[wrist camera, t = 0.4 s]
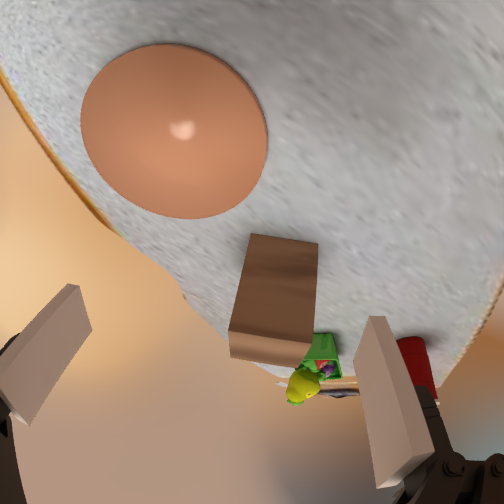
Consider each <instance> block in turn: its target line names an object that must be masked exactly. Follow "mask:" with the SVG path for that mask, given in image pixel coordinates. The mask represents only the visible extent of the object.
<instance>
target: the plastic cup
mask: <svg viewBox="0 0 504 504" xmlns="http://www.w3.org/2000/svg"><path fill="white" fill-rule="evenodd" d="M396 343H397V345H398V348H399V350H400V353H401V355H402V358H403V360H404V363H405V365H406V368H407V370H408V373H409V375H410V378H411V381H412V383H413V386H420V385H425V386H426V387H427V389H428V390H429V391H430V392H431V393H432V394H433V397H434V399H435V402H436V404H437V405H438V404H440V402H439V400H438V398H437V395H436V390H435V385H434V381H433V376H432V371H431V366H430V362H429V357H428V355H427V351H426V347H425V343H424V341H423V339H422V338H420V337H407V338H403V339H400V340H398V341H396Z"/></svg>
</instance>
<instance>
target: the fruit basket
mask: <svg viewBox="0 0 504 504" xmlns="http://www.w3.org/2000/svg"><path fill="white" fill-rule="evenodd" d="M295 370H296V371H294V372H293V374H292V375H291V377H290V379H289V384H288V388H287V390H286V395H287V397H288V400H287V402H289V403H291V404H293V405H300V404H302V403H303V402H304V400H305V399H307V398H309V397H311V396H313V395H315V394H317V393H318V392H319V391H320V388H321V387H320V384H319V381H325V380H326V379H341V378H342V372H341V368H340V364H339V359H338V354H337V350H336V346H335V343H334V340H333V336H332V334H331V333H327V334H313V340H312V345H311V347H310V348H309V350H308V352H307V354H306V355H305V357H304V359H303V360H302V362H301V364H300V365H299V367H298V368H295Z"/></svg>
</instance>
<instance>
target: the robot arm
mask: <svg viewBox="0 0 504 504" xmlns="http://www.w3.org/2000/svg"><path fill="white" fill-rule="evenodd" d="M91 332H92V328H91V325H90V321H89V318H88V315H87V312H86V308H85V305H84V301H83V298H82V294H81V291H80V287H79V286H78V285H72V284H67V285H66V286H65V287H64V288H63V289H62V290H61V291H60V292H59V293H58V294H57V295H56V296H55V297H54V298H53V299H52V300H51V301H50V302H49V303H48V304H47V305H46V306H45V307H44V308H43V309H42V310H41V311H40V312H39V313H38V314H37V316H36V317H35V318H34V319H33V320H32V321H31V322H30V323H29V324H28V325H27V326H26V327H25V329H24V330H23V331H22V332H21V333H18V334H17V335H15V336H14V337H12V338H11V339H10V340H9V341H8V342H7V343H6V344H5V345H4V348H2V349H1V350H0V504H27V502H26V498H25V495H24V491H23V487H22V483H21V478H20V474H19V469H18V464H17V458H16V453H15V446H14V439H13V432H12V422H11V419H10V416H9V413H10V412H12V413H13V415H14V416H15V417H16V418H17V419H18V420H19V421H21V422H23V423H24V424H26V425H28V426H30V424H31V422H32V421H33V419H34V417H35V416H36V414H37V412H38V411H39V409H40V407H41V406H42V404H43V403H44V401H45V399H46V398H47V396H48V395H49V393H50V392H51V390H52V388H53V387H54V385H55V384H56V382H57V381H58V379H59V377H60V376H61V375H62V373H63V372H64V370H65V369H66V367H67V365H68V364H69V363H70V361H71V360H72V358H73V357H74V355H75V354H76V353H77V351H78V350H79V348H80V347H81V345H82V344H83V343H84V341H85V340H86V338H87V337H88V336H89V334H90V333H91ZM353 364H354V368H355V373H356V377H357V382H358V386H359V391H360V396H361V400H362V405H363V410H364V415H365V420H366V425H367V431H368V436H369V442H370V448H371V454H372V460H373V466H374V472H375V479H376V487H377V488H383V487H389V486H394V485H397V484H398V483H399V482H401V481H402V480H404V485H405V486H404V487H403V488H402V489H400V490H399V491H398V492H396V493H395V494H394V495H393V497H396V496H397V498H396V499H395V501H394V502H393V504H504V455H502V454H500V453H497V454H493V455H492V456H490V457H489V458H488V459H487V460H485V461H470V460H465V458H464V457H463V456H462V455H461V454H459V453H457V452H454V451H453V449H452V447H451V444H450V441H449V438H448V435H447V432H446V429H445V426H444V423H443V420H442V418H441V417H440V412H439V410H438V408H437V404H436V402H435V399H434V397H433V394H432V393H431V392H430V391H429V390H428V389H427V387H426V386H425V385H420V386H413V383H412V381H411V378H410V375H409V373H408V370H407V368H406V365H405V363H404V360H403V358H402V355H401V353H400V350H399V348H398V345H397V343H396V340H395V338H394V336H393V333H392V331H391V329H390V326H389V324H388V322H387V319H386V317H385V316H369V318H368V321H367V324H366V327H365V330H364V333H363V335H362V338H361V341H360V344H359V346H358V349H357V352H356V355H355V357H354V360H353Z"/></svg>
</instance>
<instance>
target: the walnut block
mask: <svg viewBox="0 0 504 504" xmlns="http://www.w3.org/2000/svg"><path fill="white" fill-rule="evenodd" d="M317 265H318V244H316V243H310V242H304V241H298V240H291V239H285V238H278V237H272V236H265V235H259V234H252V233H251V236H250V240H249V245H248V249H247V253H246V257H245V261H244V265H243V270H242V274H241V278H240V282H239V286H238V291H237V295H236V299H235V303H234V308H233V312H232V316H231V320H230V325H229V329H228V335H229V346H230V356H231V358H236V359H241V360H247V361H253V362H259V363H265V364H271V365H278V366H285V367H292V368H298V367H299V365H300V364H301V362H302V360H303V359H304V357H305V355H306V354H307V352H308V350H309V348H310V347H311V345H312V340H313V328H314V316H315V301H316V285H317Z"/></svg>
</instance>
